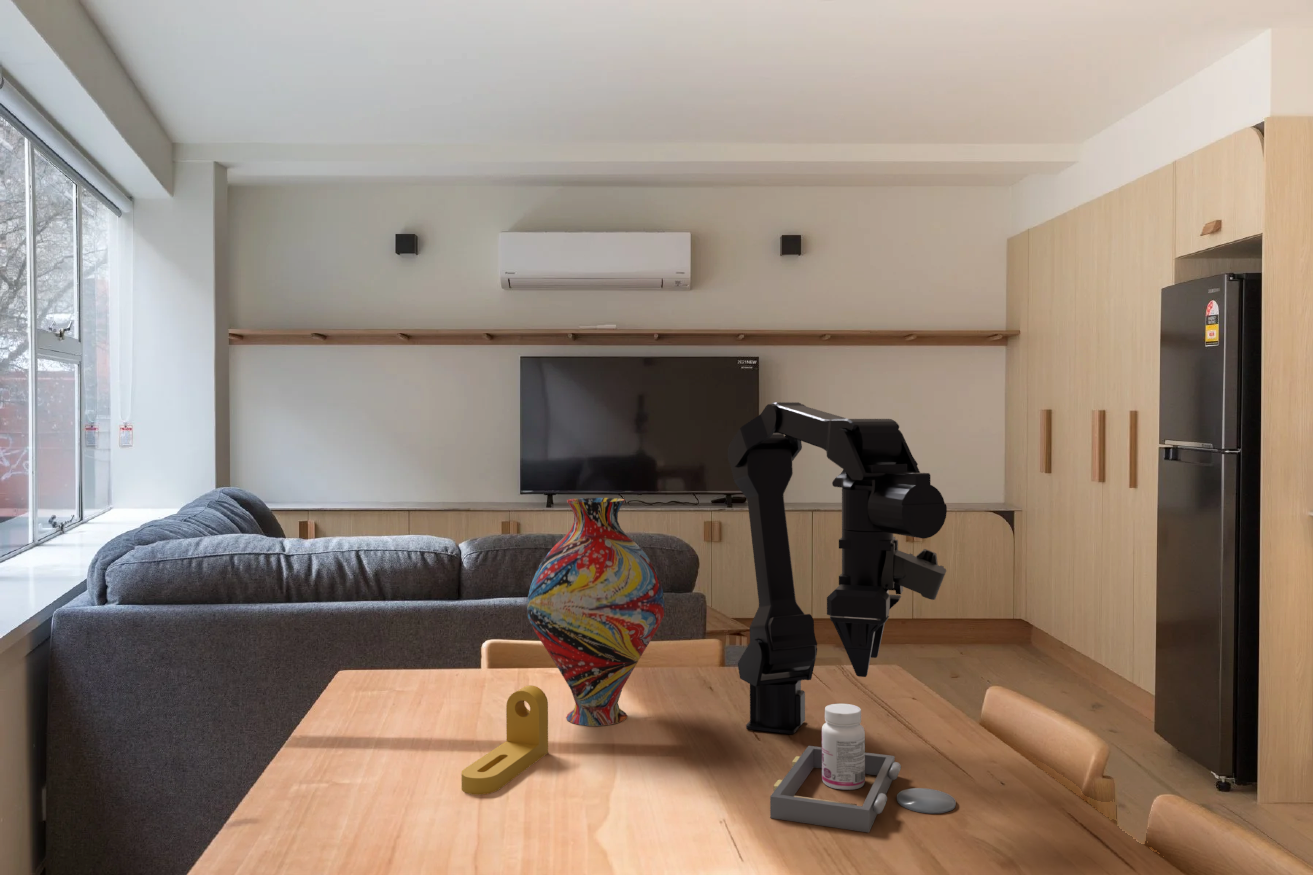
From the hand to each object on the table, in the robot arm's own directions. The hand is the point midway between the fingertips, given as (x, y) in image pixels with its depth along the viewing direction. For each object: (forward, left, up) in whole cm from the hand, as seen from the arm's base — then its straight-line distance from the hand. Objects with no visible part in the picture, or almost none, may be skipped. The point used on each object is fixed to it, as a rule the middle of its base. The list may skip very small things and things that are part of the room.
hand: (867, 666), depth 111 cm
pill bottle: (-2, -2, -13) cm, 13 cm away
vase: (-39, +10, -13) cm, 42 cm away
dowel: (-2, -12, -12) cm, 17 cm away
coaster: (+7, -5, -13) cm, 15 cm away
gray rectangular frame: (-2, -6, -13) cm, 14 cm away
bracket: (-40, -13, -13) cm, 44 cm away
